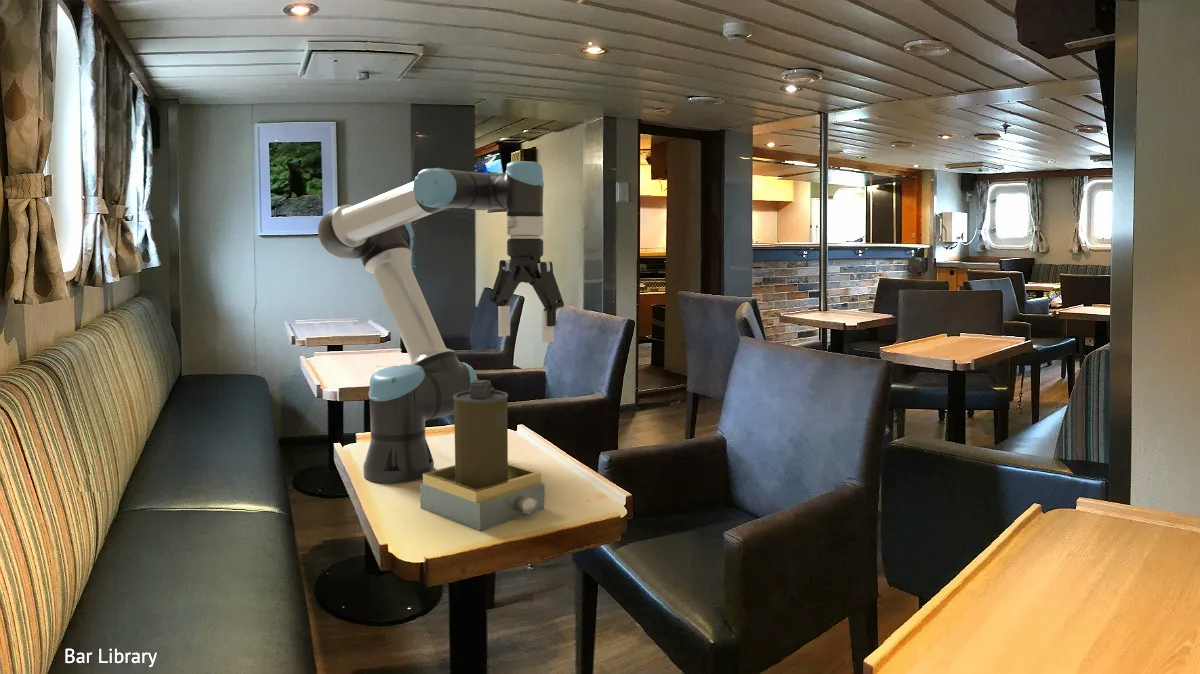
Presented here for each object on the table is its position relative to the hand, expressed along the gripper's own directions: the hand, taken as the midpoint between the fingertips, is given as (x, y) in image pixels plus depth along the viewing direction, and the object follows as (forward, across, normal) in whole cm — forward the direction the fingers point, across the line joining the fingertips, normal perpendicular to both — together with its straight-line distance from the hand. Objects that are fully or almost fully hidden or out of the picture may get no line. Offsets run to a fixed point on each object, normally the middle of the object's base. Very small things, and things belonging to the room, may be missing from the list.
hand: (525, 339), depth 168 cm
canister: (+26, +7, -18) cm, 32 cm away
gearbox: (+31, +9, -18) cm, 37 cm away
